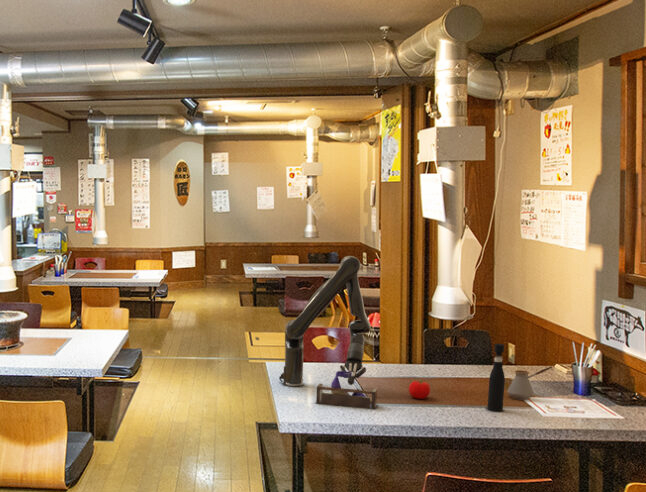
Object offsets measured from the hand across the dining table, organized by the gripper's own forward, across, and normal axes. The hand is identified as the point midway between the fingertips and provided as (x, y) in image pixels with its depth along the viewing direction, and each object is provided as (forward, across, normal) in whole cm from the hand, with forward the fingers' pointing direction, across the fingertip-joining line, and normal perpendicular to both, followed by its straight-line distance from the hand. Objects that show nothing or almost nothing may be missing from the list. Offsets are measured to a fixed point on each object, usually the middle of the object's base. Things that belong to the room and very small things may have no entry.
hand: (350, 384), depth 361 cm
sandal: (+11, +2, -1) cm, 11 cm away
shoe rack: (+14, 0, -5) cm, 15 cm away
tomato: (-3, +31, +12) cm, 33 cm away
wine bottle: (+4, +64, +6) cm, 65 cm away
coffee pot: (-16, +80, +25) cm, 86 cm away
